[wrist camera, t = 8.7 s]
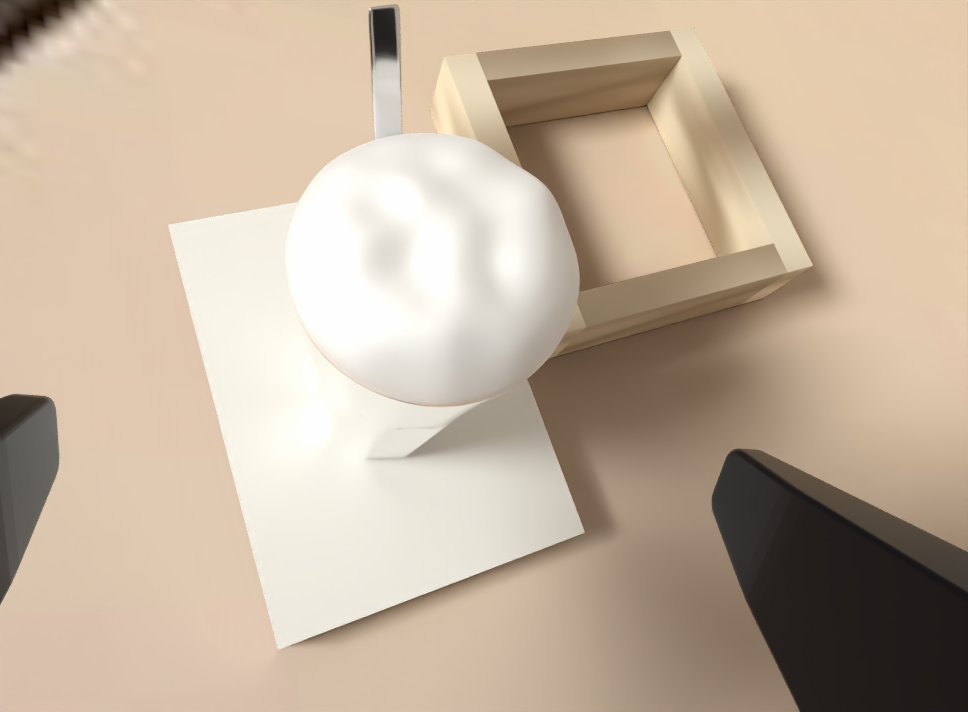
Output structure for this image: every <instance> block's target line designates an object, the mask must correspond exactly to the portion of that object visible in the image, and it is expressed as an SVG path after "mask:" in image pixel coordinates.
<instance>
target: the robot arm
mask: <svg viewBox="0 0 968 712" xmlns="http://www.w3.org/2000/svg"><path fill="white" fill-rule="evenodd" d="M58 466H59V445H58V431H57V417H56V408H55V405H54V402H53V401H52V399H50V398H49V397H46V396H37V395H24V394H12V395H8V396H5V397H3V398H0V604H1V602H2V600H3V599H4V597H5V595H6V593H7V591H8V589H9V587H10V585H11V583H12V581H13V579H14V577H15V574H16V572H17V570H18V568H19V565H20V563H21V560H22V558H23V555H24V553H25V551H26V548H27V546H28V543H29V541H30V538H31V536H32V534H33V531H34V529H35V526H36V524H37V521H38V519H39V516H40V514H41V512H42V509H43V507H44V504H45V502H46V499H47V497H48V495H49V492H50V490H51V487H52V485H53V482H54V480H55V477H56V475H57V471H58ZM712 510H713V514H714V516H715V519H716V522H717V525H718V527H719V530H720V533H721V535H722V538H723V541H724V543H725V546H726V549H727V552H728V554H729V557H730V560H731V562H732V565H733V568H734V570H735V573H736V576H737V579H738V581H739V584H740V587H741V589H742V592H743V594H744V597H745V599H746V601H747V604H748V606H749V608H750V610H751V612H752V615H753V617H754V619H755V621H756V623H757V625H758V627H759V629H760V631H761V633H762V635H763V637H764V639H765V641H766V643H767V645H768V647H769V649H770V651H771V654H772V656H773V658H774V660H775V662H776V664H777V666H778V668H779V670H780V672H781V674H782V676H783V678H784V680H785V682H786V684H787V686H788V688H789V690H790V692H791V695H792V697H793V699H794V701H795V703H796V705H797V707H798V709H799V711H800V712H968V552H966V551H964V550H962V549H960V548H958V547H956V546H954V545H952V544H950V543H948V542H946V541H944V540H942V539H940V538H938V537H936V536H934V535H932V534H930V533H928V532H926V531H924V530H922V529H920V528H918V527H916V526H913V525H911V524H909V523H907V522H905V521H903V520H901V519H899V518H897V517H895V516H893V515H891V514H889V513H887V512H885V511H883V510H881V509H879V508H877V507H875V506H873V505H871V504H869V503H867V502H865V501H863V500H860V499H858V498H856V497H854V496H852V495H850V494H848V493H846V492H844V491H842V490H840V489H838V488H836V487H834V486H832V485H830V484H828V483H826V482H824V481H822V480H820V479H818V478H816V477H814V476H812V475H810V474H807V473H805V472H803V471H801V470H799V469H797V468H795V467H793V466H791V465H789V464H787V463H785V462H783V461H781V460H779V459H777V458H775V457H773V456H771V455H769V454H767V453H765V452H762V451H760V450H752V449H734V450H732V451H731V452H730V453H729V454H728V456H727V458H726V460H725V463H724V465H723V468H722V470H721V473H720V476H719V478H718V481H717V484H716V486H715V489H714V491H713V495H712Z"/></svg>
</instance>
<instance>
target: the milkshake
mask: <svg viewBox="0 0 968 712" xmlns="http://www.w3.org/2000/svg"><path fill="white" fill-rule="evenodd" d="M369 40H370V61H371V81H372V101H373V121H374V141H370V142H368V143H365V144H362V145H360V146H358V147H355V148H353V149H351V150H349V151H347V152H345V153H343V154H341V155H340V156H338V157H337V158H335V159H334V160H332V161H331V162H330V163H328V164H327V165H326V166H325V167H324V168H323V169H322V170H321V171H320V172H319V173H318V174H317V175H316V176H315V178H314V179H313V180H312V182H311V183H310V184H309V186H308V187H307V189H306V190H305V192H304V194H303V195H302V197H301V199H300V201H299V202H298V205H297V207H296V209H295V211H294V214H293V216H292V219H291V222H290V225H289V229H288V233H287V238H286V244H285V270H286V278H287V283H288V288H289V292H290V296H291V300H292V304H293V307H294V310H295V314H296V317H297V321H298V324H299V327H300V331H301V334H302V337H303V340H304V344H305V347H306V350H307V352H308V356H309V362H310V367H311V372H312V377H313V382H314V387H315V393H316V397H317V400H318V403H319V406H320V409H321V412H322V415H323V418H324V421H325V423H326V426H327V429H328V433H329V435H330V436H331V437H332V438H334V439H335V440H337V441H338V442H340V443H341V444H343V445H344V446H346V447H347V448H348V449H350V450H351V451H353V452H354V453H356V454H357V455H359V456H360V457H362V458H363V459H373V458H405V457H406V456H408V455H409V454H410V453H412V452H413V451H414V450H416V449H417V448H418V447H420V446H421V445H422V444H424V443H425V442H426V441H428V440H429V439H430V438H432V437H433V436H435V435H436V434H437V433H439V432H440V431H441V430H443V429H444V428H446V427H447V426H449V425H450V424H452V423H454V422H456V421H457V420H459V419H461V418H463V417H464V416H466V415H468V414H470V413H472V412H473V411H475V410H477V409H478V408H480V407H482V406H484V405H485V404H487V403H489V402H490V401H492V400H494V399H496V398H497V397H499V396H501V395H502V394H504V393H506V392H507V391H509V390H511V389H512V388H514V387H515V386H517V385H519V384H520V383H522V382H523V381H525V380H526V379H527V378H529V377H530V376H531V375H532V374H534V373H535V372H536V371H537V370H538V369H539V368H540V367H541V366H542V365H543V364H544V363H545V362H546V360H547V359H548V358H549V357H550V356H551V354H552V353H553V352H554V350H555V349H556V347H557V346H558V344H559V343H560V341H561V340H562V338H563V336H564V334H565V332H566V331H567V329H568V327H569V325H570V322H571V320H572V317H573V315H574V312H575V309H576V305H577V301H578V296H579V285H580V274H579V265H578V260H577V255H576V252H575V249H574V246H573V243H572V240H571V237H570V234H569V232H568V229H567V226H566V224H565V221H564V218H563V215H562V213H561V210H560V208H559V206H558V203H557V201H556V200H555V198H554V196H553V195H552V193H551V192H550V190H549V189H548V188H547V187H546V186H545V185H544V184H543V183H542V182H541V181H540V180H538V179H537V178H536V177H534V176H533V175H532V174H530V173H528V172H527V171H525V170H524V169H522V168H520V167H519V166H517V165H515V164H514V163H512V162H511V161H509V160H508V159H506V158H505V157H503V156H502V155H501V154H499V153H498V152H496V151H495V150H493V149H492V148H490V147H488V146H487V145H485V144H483V143H481V142H479V141H476V140H473V139H470V138H467V137H462V136H456V135H450V134H439V133H412V134H402V92H401V34H400V9H399V6H398V5H385V6H377V7H372V8H370V9H369Z"/></svg>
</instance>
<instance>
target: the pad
mask: <svg viewBox="0 0 968 712" xmlns="http://www.w3.org/2000/svg"><path fill="white" fill-rule="evenodd" d="M297 205H298V202H296V203H290V204H284V205H278V206H273V207H267V208H261V209H255V210H250V211H244V212H238V213H233V214H227V215H221V216H215V217H210V218H204V219H198V220H192V221H187V222H181V223H175V224H169V225H168V227H169V230H170V234H171V238H172V242H173V246H174V250H175V254H176V257H177V261H178V265H179V269H180V273H181V277H182V281H183V285H184V288H185V292H186V296H187V300H188V304H189V308H190V312H191V315H192V319H193V323H194V327H195V331H196V335H197V339H198V342H199V346H200V350H201V354H202V358H203V362H204V366H205V369H206V373H207V377H208V381H209V385H210V389H211V393H212V396H213V400H214V404H215V408H216V412H217V416H218V420H219V423H220V427H221V431H222V435H223V439H224V443H225V447H226V450H227V454H228V458H229V462H230V466H231V470H232V474H233V477H234V481H235V485H236V489H237V493H238V497H239V501H240V504H241V508H242V512H243V516H244V520H245V524H246V528H247V532H248V535H249V539H250V543H251V547H252V551H253V555H254V559H255V562H256V566H257V570H258V574H259V578H260V582H261V586H262V589H263V593H264V597H265V601H266V605H267V609H268V613H269V616H270V620H271V624H272V628H273V632H274V636H275V640H276V643H277V647H278V650H279V649H282V648H284V647H287V646H289V645H292V644H295V643H297V642H300V641H303V640H305V639H308V638H310V637H313V636H316V635H318V634H321V633H323V632H326V631H329V630H331V629H334V628H337V627H339V626H342V625H344V624H347V623H350V622H352V621H355V620H358V619H360V618H363V617H365V616H368V615H371V614H373V613H376V612H379V611H381V610H384V609H386V608H389V607H392V606H394V605H397V604H399V603H402V602H405V601H407V600H410V599H413V598H415V597H418V596H420V595H423V594H426V593H428V592H431V591H434V590H436V589H439V588H441V587H444V586H447V585H449V584H452V583H455V582H457V581H460V580H462V579H465V578H468V577H470V576H473V575H475V574H478V573H481V572H483V571H486V570H489V569H491V568H494V567H496V566H499V565H502V564H504V563H507V562H510V561H512V560H515V559H517V558H520V557H523V556H525V555H528V554H531V553H533V552H536V551H538V550H541V549H544V548H546V547H549V546H551V545H554V544H557V543H559V542H562V541H565V540H567V539H570V538H572V537H575V536H578V535H580V534H583V533H585V531H584V528H583V526H582V523H581V520H580V518H579V515H578V512H577V510H576V507H575V504H574V502H573V499H572V496H571V494H570V491H569V488H568V486H567V483H566V480H565V478H564V475H563V472H562V470H561V467H560V464H559V462H558V459H557V456H556V454H555V451H554V448H553V446H552V443H551V440H550V438H549V435H548V432H547V430H546V427H545V424H544V422H543V419H542V416H541V414H540V411H539V408H538V406H537V403H536V400H535V398H534V395H533V392H532V390H531V387H530V384H529V382H528V379H526V380H525V381H523V382H522V383H520V384H519V385H517V386H515V387H514V388H512V389H511V390H509V391H507V392H506V393H504V394H502V395H501V396H499V397H497V398H496V399H494V400H492V401H490V402H489V403H487V404H485V405H484V406H482V407H480V408H478V409H477V410H475V411H473V412H472V413H470V414H468V415H466V416H464V417H463V418H461V419H459V420H457V421H456V422H454V423H452V424H450V425H449V426H447V427H446V428H444V429H443V430H441V431H440V432H439V433H437V434H436V435H435V436H433V437H432V438H430V439H429V440H428V441H426V442H425V443H424V444H422V445H421V446H420V447H418V448H417V449H416V450H414V451H413V452H412V453H410V454H409V455H408V456H406V457H405V458H373V459H363V458H362V457H360V456H359V455H357V454H356V453H354V452H353V451H351V450H350V449H348V448H347V447H346V446H344V445H343V444H341V443H340V442H338V441H337V440H335V439H334V438H332V437H331V436H330V435H329V433H328V429H327V426H326V423H325V421H324V418H323V415H322V412H321V409H320V406H319V403H318V400H317V397H316V393H315V387H314V382H313V377H312V372H311V367H310V362H309V356H308V352H307V350H306V347H305V344H304V340H303V337H302V334H301V331H300V327H299V324H298V321H297V317H296V314H295V310H294V307H293V304H292V300H291V296H290V292H289V288H288V283H287V278H286V270H285V244H286V238H287V233H288V229H289V225H290V222H291V219H292V216H293V214H294V211H295V209H296V207H297Z"/></svg>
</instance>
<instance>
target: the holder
mask: <svg viewBox="0 0 968 712" xmlns="http://www.w3.org/2000/svg"><path fill="white" fill-rule="evenodd" d="M645 105H647V106H648V109H649V111H650V113H651V115H652V117H653V119H654V121H655V124H656V126H657V128H658V130H659V132H660V134H661V137H662V139H663V141H664V143H665V145H666V147H667V149H668V152H669V154H670V156H671V158H672V160H673V162H674V165H675V167H676V169H677V171H678V173H679V175H680V177H681V180H682V182H683V184H684V186H685V188H686V190H687V192H688V195H689V197H690V199H691V201H692V203H693V205H694V208H695V210H696V212H697V214H698V216H699V218H700V220H701V223H702V225H703V227H704V229H705V231H706V233H707V236H708V238H709V240H710V242H711V244H712V246H713V248H714V251H715V253H716V255H717V258H713V259H709V260H705V261H701V262H697V263H693V264H689V265H685V266H681V267H677V268H673V269H669V270H665V271H661V272H657V273H653V274H649V275H645V276H641V277H637V278H633V279H629V280H624V281H620V282H616V283H612V284H608V285H604V286H600V287H596V288H592V289H588V290H584V291H580V292H579V296H578V301H577V305H576V309H575V312H574V315H573V317H572V320H571V322H570V325H569V327H568V329H567V331H566V332H565V334H564V336H563V338H562V340H561V341H560V343H559V344H558V346H557V347H556V349H555V350H554V352H553V353H552V354H551V356H550V357H549V358H553V357H556V356H560V355H563V354H567V353H570V352H574V351H577V350H581V349H585V348H588V347H592V346H595V345H599V344H602V343H606V342H609V341H613V340H617V339H620V338H624V337H627V336H631V335H634V334H638V333H641V332H645V331H649V330H652V329H656V328H659V327H663V326H666V325H670V324H673V323H677V322H681V321H684V320H688V319H691V318H695V317H698V316H702V315H705V314H709V313H713V312H716V311H720V310H723V309H727V308H730V307H734V306H737V305H741V304H745V303H748V302H752V301H755V300H759V299H762V298H764V297H766V296H767V295H769V294H770V293H772V292H774V291H775V290H777V289H778V288H780V287H781V286H783V285H784V284H786V283H787V282H789V281H790V280H792V279H794V278H795V277H797V276H798V275H800V274H801V273H803V272H804V271H806V270H807V269H809V268H810V267H812V266H813V264H812V262H811V260H810V258H809V256H808V254H807V252H806V250H805V248H804V246H803V244H802V242H801V240H800V238H799V236H798V234H797V232H796V230H795V228H794V226H793V224H792V222H791V220H790V218H789V216H788V214H787V212H786V210H785V208H784V206H783V204H782V202H781V200H780V198H779V196H778V194H777V192H776V190H775V188H774V186H773V184H772V182H771V180H770V178H769V176H768V174H767V172H766V170H765V168H764V166H763V164H762V162H761V160H760V158H759V156H758V154H757V152H756V150H755V148H754V146H753V144H752V142H751V140H750V138H749V136H748V134H747V132H746V130H745V128H744V126H743V124H742V122H741V120H740V118H739V116H738V114H737V112H736V110H735V108H734V106H733V104H732V102H731V100H730V98H729V96H728V94H727V92H726V90H725V88H724V86H723V84H722V82H721V80H720V78H719V76H718V74H717V72H716V70H715V68H714V66H713V64H712V62H711V60H710V58H709V56H708V54H707V52H706V50H705V48H704V46H703V44H702V42H701V40H700V38H699V36H698V34H697V32H696V30H695V28H690V29H682V30H673V31H664V32H655V33H646V34H637V35H629V36H620V37H611V38H602V39H593V40H585V41H576V42H567V43H558V44H549V45H540V46H532V47H523V48H514V49H505V50H496V51H488V52H479V53H470V54H461V55H452V56H444V60H443V63H442V67H441V71H440V75H439V78H438V82H437V86H436V90H435V93H434V97H433V101H432V105H431V108H430V113H431V116H432V119H433V121H434V124H435V127H436V129H437V132H438V133H439V134H450V135H456V136H462V137H467V138H470V139H473V140H476V141H479V142H481V143H483V144H485V145H487V146H488V147H490V148H492V149H493V150H495V151H496V152H498V153H499V154H501V155H502V156H503V157H505V158H506V159H508V160H509V161H511V162H512V163H514V164H515V165H517V166H519V167H520V168H522V166H521V164H520V161H519V159H518V156H517V154H516V151H515V149H514V146H513V144H512V142H511V139H510V137H509V134H508V132H507V129H506V127H509V126H515V125H522V124H528V123H535V122H541V121H548V120H554V119H561V118H567V117H574V116H580V115H587V114H593V113H600V112H606V111H613V110H619V109H626V108H632V107H639V106H645ZM549 358H548V359H549Z"/></svg>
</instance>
